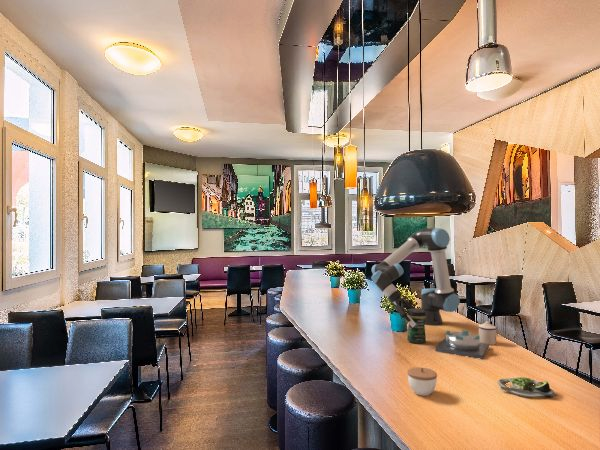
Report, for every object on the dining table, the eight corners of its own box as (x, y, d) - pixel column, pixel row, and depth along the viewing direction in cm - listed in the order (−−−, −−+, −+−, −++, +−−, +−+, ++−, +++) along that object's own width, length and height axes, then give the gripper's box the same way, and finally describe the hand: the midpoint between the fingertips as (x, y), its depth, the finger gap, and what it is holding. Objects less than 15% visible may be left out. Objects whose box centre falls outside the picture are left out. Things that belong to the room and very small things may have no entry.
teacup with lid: (500, 345, 204) (499, 323, 204) (483, 345, 203) (483, 323, 204) (488, 338, 216) (488, 318, 216) (472, 339, 215) (472, 318, 216)
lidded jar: (408, 384, 150) (408, 361, 150) (437, 389, 146) (437, 365, 147) (406, 395, 140) (406, 370, 141) (436, 400, 136) (436, 374, 137)
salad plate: (514, 402, 136) (514, 389, 136) (485, 382, 154) (485, 371, 154) (564, 400, 138) (564, 387, 138) (530, 381, 156) (529, 369, 156)
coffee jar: (411, 344, 205) (411, 310, 205) (405, 340, 213) (405, 307, 213) (428, 343, 206) (428, 309, 206) (422, 339, 214) (422, 306, 214)
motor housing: (445, 340, 211) (445, 326, 211) (489, 347, 199) (488, 332, 199) (435, 351, 193) (435, 334, 193) (482, 359, 181) (482, 342, 181)
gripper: (395, 295, 229) (420, 323, 220) (379, 301, 209) (406, 332, 200) (404, 287, 226) (429, 315, 218) (388, 292, 206) (416, 323, 197)
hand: (418, 323), depth 209 cm, fingers open, 13 cm apart
